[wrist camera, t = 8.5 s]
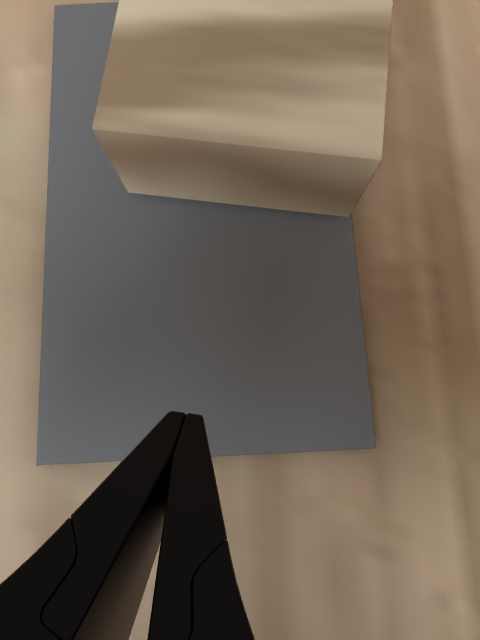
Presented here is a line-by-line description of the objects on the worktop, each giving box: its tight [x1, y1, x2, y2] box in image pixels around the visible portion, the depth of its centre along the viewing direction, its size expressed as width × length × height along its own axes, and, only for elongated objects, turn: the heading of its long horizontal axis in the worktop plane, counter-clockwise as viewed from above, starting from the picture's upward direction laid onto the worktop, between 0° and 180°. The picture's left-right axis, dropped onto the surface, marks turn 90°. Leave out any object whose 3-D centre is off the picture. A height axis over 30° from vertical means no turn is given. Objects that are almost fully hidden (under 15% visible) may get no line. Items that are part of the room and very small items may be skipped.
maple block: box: [92, 0, 393, 217], centre depth 17 cm, size 5×10×10 cm
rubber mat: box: [37, 2, 376, 465], centre depth 19 cm, size 22×14×1 cm, turn 3°
